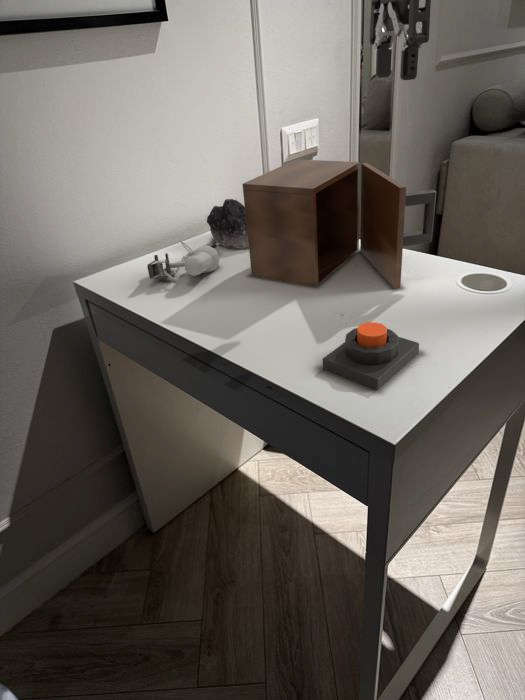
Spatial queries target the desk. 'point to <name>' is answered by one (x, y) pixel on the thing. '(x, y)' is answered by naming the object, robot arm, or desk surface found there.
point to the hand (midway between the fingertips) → (395, 78)
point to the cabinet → (303, 220)
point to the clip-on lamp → (187, 262)
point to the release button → (371, 334)
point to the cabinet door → (390, 221)
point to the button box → (370, 359)
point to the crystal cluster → (229, 224)
